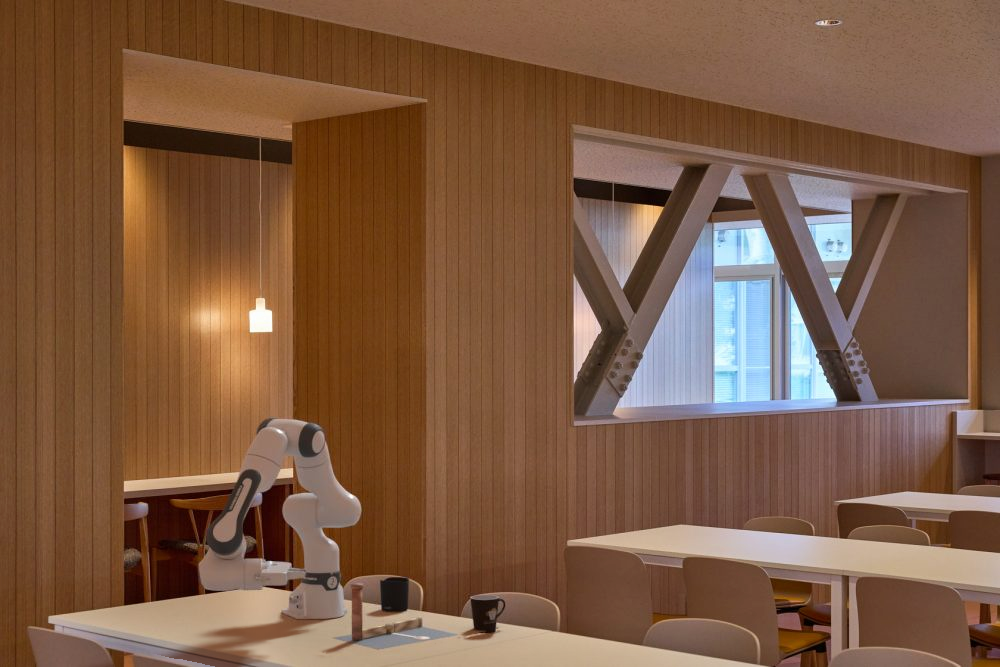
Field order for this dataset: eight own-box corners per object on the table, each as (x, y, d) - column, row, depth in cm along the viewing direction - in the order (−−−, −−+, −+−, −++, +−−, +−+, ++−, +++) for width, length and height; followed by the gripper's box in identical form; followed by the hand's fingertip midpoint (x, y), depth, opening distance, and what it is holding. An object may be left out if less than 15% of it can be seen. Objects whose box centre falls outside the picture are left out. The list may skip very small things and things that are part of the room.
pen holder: (376, 608, 410) (376, 578, 410) (403, 606, 414) (403, 576, 414) (385, 613, 402) (385, 582, 402) (413, 611, 405) (413, 580, 406)
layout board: (332, 640, 359) (332, 637, 359) (411, 626, 378) (411, 623, 378) (378, 652, 343) (378, 648, 343) (458, 637, 362) (458, 634, 362)
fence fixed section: (389, 634, 363) (389, 625, 364) (383, 633, 365) (383, 624, 365) (424, 626, 375) (424, 618, 375) (418, 625, 376) (418, 617, 377)
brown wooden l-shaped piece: (380, 632, 365) (380, 578, 366) (389, 633, 363) (389, 580, 363) (348, 639, 355) (348, 584, 356) (356, 640, 353) (356, 585, 353)
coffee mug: (474, 634, 366) (474, 600, 366) (467, 629, 374) (467, 595, 375) (512, 632, 369) (512, 598, 369) (504, 627, 377) (504, 593, 378)
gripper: (252, 568, 343) (303, 567, 345) (260, 558, 364) (307, 557, 365) (252, 591, 343) (303, 590, 344) (259, 580, 363) (307, 579, 365)
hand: (305, 573), depth 355 cm, fingers open, 3 cm apart
